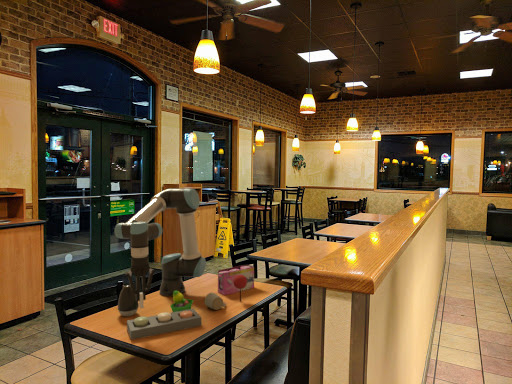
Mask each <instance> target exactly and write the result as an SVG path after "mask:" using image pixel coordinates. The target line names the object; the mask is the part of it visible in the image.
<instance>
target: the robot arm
mask: <svg viewBox="0 0 512 384" xmlns="http://www.w3.org/2000/svg"><path fill="white" fill-rule="evenodd" d="M200 201H201V200H200V196H199V193H198V192H197V190H196V189H194V188H188V187H187V188H186V187H181V188H178V187H177V188H173V187H172V188H171V187H170V188H167V189H164V190H162V191H160V192H158V193H156V194H155V195H154V196H152V197H151V199H150V201H149V202H148V203H147V204H146V205H145V206H143V207H142V208H141V209H140V210H139V211H138V212H137V213H135V214H134V215H133V216H132V217H131V218H129V219H128V220H126V221H125V222H120V223H117V224H116V225H115V227H114V235H115V237H116V238H117V239H123V240H130V253H131V254H130V256H131V258H130V259H131V261H130V262H131V266H130V268H129V269H130V270H128V272H127V271H126V272H125V275H126V277H127V278H128V281H129V286H131V289H132V292H133V293H135V294H136V295H137V301H138V304H139V307H138V308H139V309H144V308H145V307H144V301H146V299H147V297H146V295H147V293H148V292H150V289H151V286H152V282H153V281H152V280H153V276H154V274H155V272H156V270H155V269H153V268H151V267H150V264H149V263H150V260H149V259H150V258H149V241H151V240H156V239H157V238H160V237H161V236H162V234H163V226H162V225H161V224H160V223H159V222H151V223H150V221H152V219H154V218H155V217H156V216H157V215H158V214H159V213H160V212H163V211H165V210H167V209H173V210H174V209H175V211H176V214H177V215H179V222H180V223H179V224H180V232H181V241H182V249H183V253H182V254H181V253H178V252H177V253H170V254H167V255H164V256H163V257H162V258H161V278H162V279H161V284H160V286H159V294H160V295H161V296H164V297H165V296H166V297H170V296H171V297H173V292H174V291H179V292H180V293H181V294H182V295H183V294H184V293H185V292H186V287H185V283H184V281H183V278H182V277H187V278H188V277H190V278H200V277H202V276H203V274H204V272H205V270H206V263H207V262H206V258H205V257H203V256H202V252H201V251H199V247H198V238H197V237H198V236H197V226H196V218H195V213H196V212H197V209H199V206H200ZM148 273H149V274H148ZM132 274H133V275H134V276H135V285H134V281H133V278H132ZM147 274H148V278H147V282H146V276H147ZM140 278H141V283H140ZM140 285H141V286H140ZM140 288H141V289H140ZM140 290H141V291H140Z"/></svg>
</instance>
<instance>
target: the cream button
mask: <svg viewBox="0 0 512 384" xmlns="http://www.w3.org/2000/svg"><path fill="white" fill-rule="evenodd" d="M171 313H172V312H168V311H167V312H165V311H164V312H161V313H158V314H157V315H158V322H167V321H170V320H171Z"/></svg>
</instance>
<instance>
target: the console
mask: <svg viewBox="0 0 512 384" xmlns="http://www.w3.org/2000/svg"><path fill="white" fill-rule="evenodd" d="M183 311H191V312H192V313H193V317H188V318H182V319H181V318H180V313H181V312H183ZM183 311H177V312H170V313H171V320H170V321H167V322H158V314H156V315H150V316H147V317H148V325H146V326H141V327H136V326H135V323H134V320H135V318H134V319H129V320H126V330H127V334H128V335H129V338H130V340H131V341H133V340H132V339H134V340H138V339H137V338H139V339H143V338H142V337H144V338H147V337H148V338H149V337H153V336H157V335H162V334H163V335H164V334H166V333H168V334H169V333H172V332H177V331H181V330H186V329H191V328H197V327H201V326H202V316H201V315H200V314H199V313H198V312H197V311H196V309H194V308H191V309H188V310H183Z"/></svg>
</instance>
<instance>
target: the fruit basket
mask: <svg viewBox="0 0 512 384" xmlns="http://www.w3.org/2000/svg"><path fill="white" fill-rule="evenodd" d="M172 300H173V303H172V304H171V305H170V308H171V311H172V312H177V311H183V310H188V309H192V306H193V303H194V300H193V299H189V298H187V299H186V298H184V294H183V293H182V294H181V293H180V292H179V291H174V292H173V296H172ZM172 312H171V313H172Z"/></svg>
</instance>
